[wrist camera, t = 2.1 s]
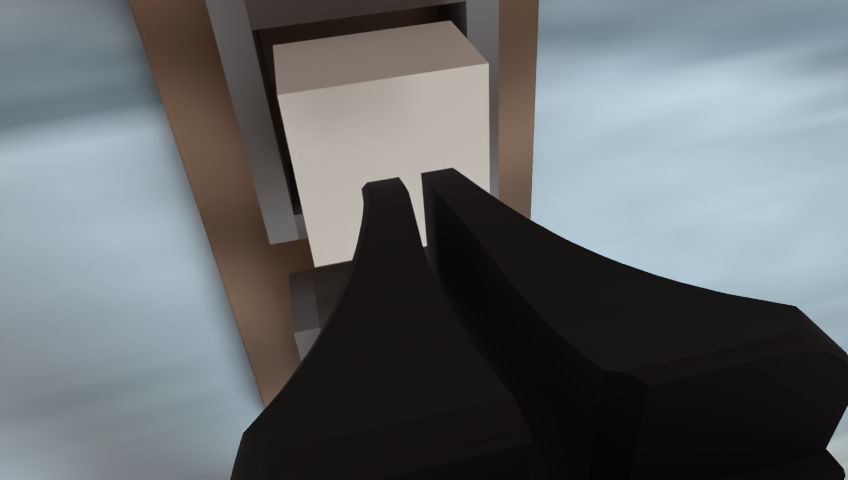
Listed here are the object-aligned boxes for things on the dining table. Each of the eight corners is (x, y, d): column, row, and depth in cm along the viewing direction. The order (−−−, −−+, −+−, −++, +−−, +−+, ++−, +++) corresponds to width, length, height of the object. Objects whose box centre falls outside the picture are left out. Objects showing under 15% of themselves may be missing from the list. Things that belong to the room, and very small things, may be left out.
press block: (91, -153, 15) (42, -137, 12) (525, -194, 17) (600, -191, 13) (278, 423, 28) (282, 515, 24) (512, 371, 30) (548, 450, 26)
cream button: (272, 45, 14) (277, 94, 12) (450, 20, 15) (488, 63, 13) (306, 200, 17) (314, 267, 14) (457, 173, 17) (490, 234, 15)
